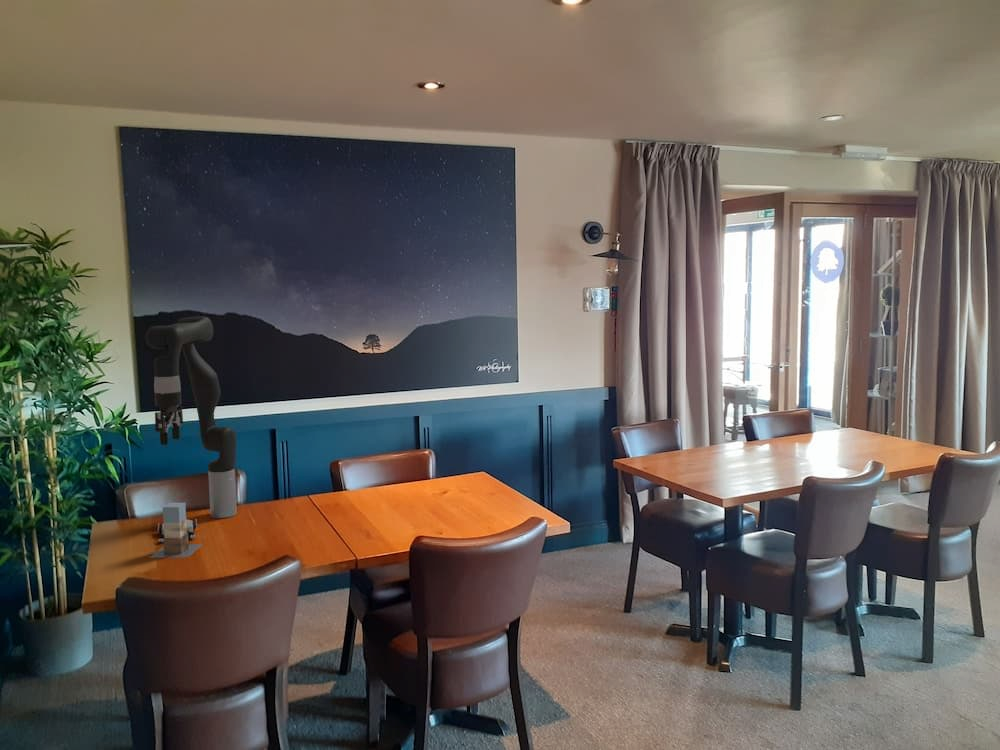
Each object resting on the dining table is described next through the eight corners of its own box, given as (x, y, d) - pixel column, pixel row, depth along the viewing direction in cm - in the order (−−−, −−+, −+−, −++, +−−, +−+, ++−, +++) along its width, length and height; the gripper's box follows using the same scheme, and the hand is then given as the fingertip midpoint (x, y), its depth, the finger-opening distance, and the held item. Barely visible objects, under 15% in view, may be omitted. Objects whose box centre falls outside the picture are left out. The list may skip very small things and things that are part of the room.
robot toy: (197, 545, 248) (197, 528, 262) (197, 532, 247) (196, 516, 261) (157, 550, 244) (158, 533, 257) (156, 537, 243) (158, 520, 256)
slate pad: (166, 546, 244) (166, 544, 243) (202, 546, 244) (202, 544, 243) (149, 560, 232) (148, 557, 231) (187, 559, 232) (187, 557, 232)
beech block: (171, 533, 239) (170, 517, 239) (186, 532, 239) (186, 517, 239) (164, 538, 234) (163, 522, 234) (180, 538, 234) (179, 522, 234)
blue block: (170, 517, 239) (169, 502, 238) (186, 517, 239) (185, 502, 238) (163, 522, 234) (162, 507, 233) (179, 522, 234) (178, 507, 233)
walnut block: (171, 547, 240) (170, 532, 240) (188, 547, 240) (187, 532, 240) (164, 553, 235) (163, 538, 234) (181, 553, 235) (180, 538, 234)
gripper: (165, 387, 239) (168, 437, 241) (144, 393, 225) (147, 446, 226) (189, 387, 239) (191, 437, 241) (169, 393, 225) (172, 446, 226)
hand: (170, 441), depth 234 cm, fingers open, 8 cm apart
